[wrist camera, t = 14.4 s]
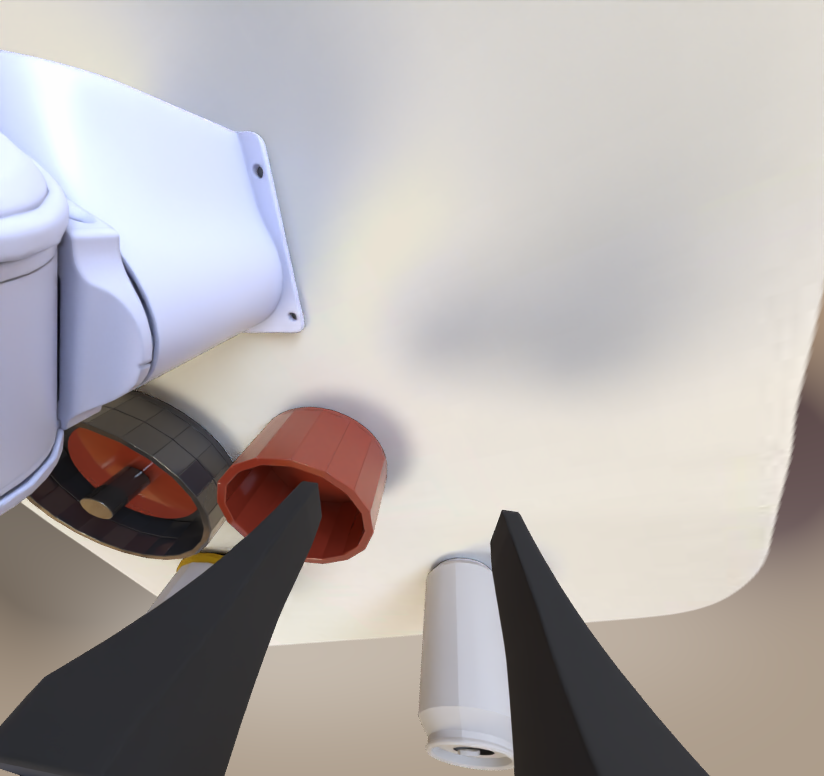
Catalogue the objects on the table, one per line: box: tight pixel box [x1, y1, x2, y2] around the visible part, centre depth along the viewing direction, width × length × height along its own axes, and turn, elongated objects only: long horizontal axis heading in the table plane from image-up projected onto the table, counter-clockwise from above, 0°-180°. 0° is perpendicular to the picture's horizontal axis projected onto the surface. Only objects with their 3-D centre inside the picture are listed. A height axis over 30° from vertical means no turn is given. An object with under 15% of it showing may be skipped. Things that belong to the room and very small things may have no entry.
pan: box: [26, 390, 233, 560], centre depth 25 cm, size 16×16×4 cm
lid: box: [68, 427, 197, 519], centre depth 24 cm, size 11×11×4 cm
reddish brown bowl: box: [217, 407, 387, 564], centre depth 21 cm, size 10×10×5 cm
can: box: [418, 558, 514, 770], centre depth 25 cm, size 8×8×12 cm
